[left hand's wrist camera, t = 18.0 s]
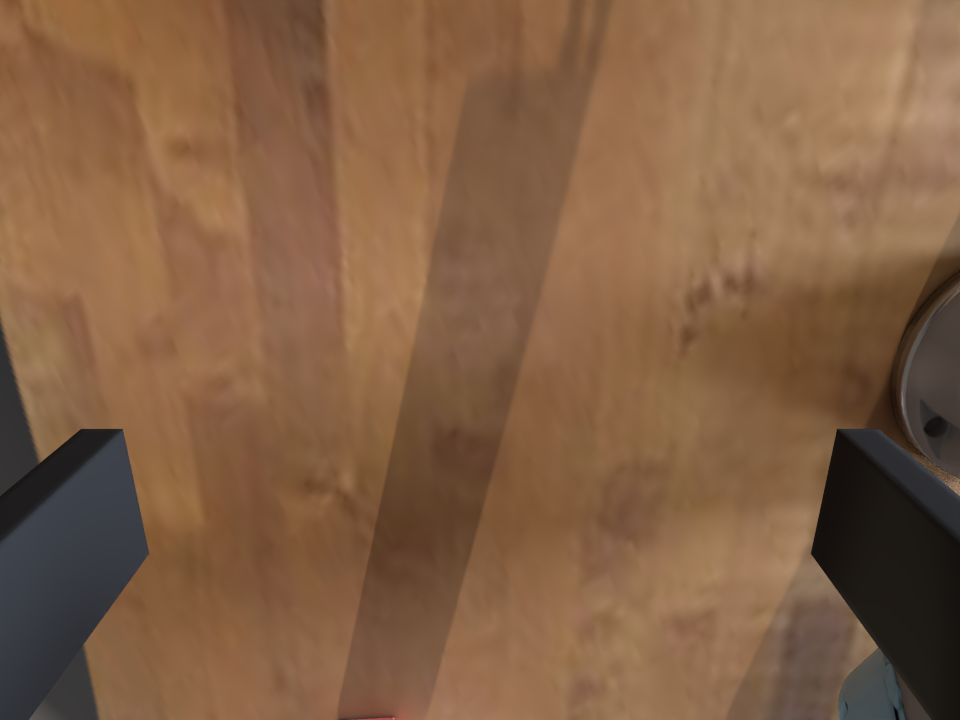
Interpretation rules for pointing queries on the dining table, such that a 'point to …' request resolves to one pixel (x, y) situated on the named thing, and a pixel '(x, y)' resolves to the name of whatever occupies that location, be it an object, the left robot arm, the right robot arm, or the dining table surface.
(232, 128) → the dining table surface
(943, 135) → the dining table surface
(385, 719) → the ink cartridge box
